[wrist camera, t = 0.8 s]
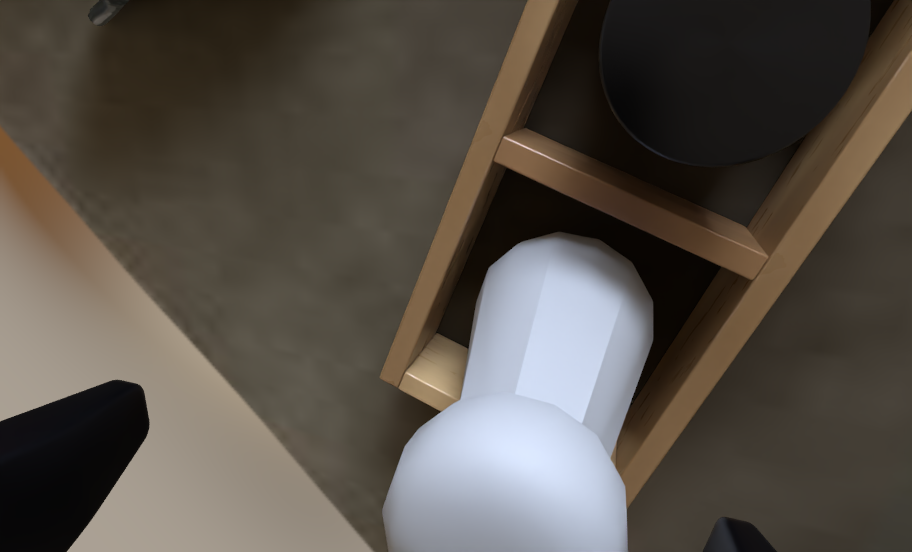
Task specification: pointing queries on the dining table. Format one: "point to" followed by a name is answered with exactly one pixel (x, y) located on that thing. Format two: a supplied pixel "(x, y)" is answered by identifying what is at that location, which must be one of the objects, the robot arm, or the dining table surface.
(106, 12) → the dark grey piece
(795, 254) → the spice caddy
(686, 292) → the dining table surface
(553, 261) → the salt shaker
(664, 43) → the cylinder
